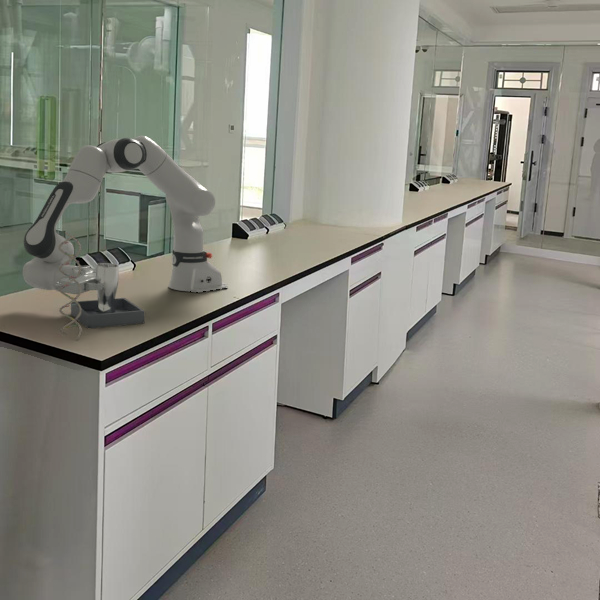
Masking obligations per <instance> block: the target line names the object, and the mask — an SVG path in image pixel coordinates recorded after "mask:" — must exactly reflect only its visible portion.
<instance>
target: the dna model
mask: <svg viewBox="0 0 600 600" xmlns="http://www.w3.org/2000/svg"><path fill="white" fill-rule="evenodd" d="M64 234H66V235H67V236H69V238H66V239H67V240H65V241H63V242H62V243H61V244H60V245H59V250H60V251H61V252H62V253H64V254H65V255H67V256H68V257H69V260H68V261H66V262H65V263H63V264H62V265H61V266H60V267H59V270H60V272H61V273H63V274H64V275H66V276H67V277H69V279H72V280H70V281H68V282H67V283H65V284H64V285H61V287H60V288H59V291H60V292H59V293H61V294H62V295H63V296H65V297H67V298H68V299H69V300H70V301H69V302H67V303H65V304H64V305H62V306H61V307H60V308H59V313H60V314H61V315H63V316H64V317H66V318H69V319H70V320H71V321H70V322H69V323H67V324H66V325H63V326H62V327H60V329H59V332H60V334H62V335H64V336H67V334H66V333H65V332H63V330H64V329H68V328H72V327H76V326H78V328H79V333H78V335H77V336H76V337H75V339H74V340H75V341H77V340H79V339H80V337H81V335H82V333H83V332H82V331H83V329H82V326H81V324H80V323H79V321H78V320H77V319H78V318H79V317H80V315H81V310H82V309H81V306H80V304H79V303H78V302H77V299H78V298H79V297H80V296H81V294H82V293H81V286H80V284H79V282H77V281H76V280H75V279H76V278H77V277H78V276H79V275H80V272H81V266H82V265H81V264H80V261H79V260H77V259H76V258H77V257H78V255H79V254H80V253H81V251H82V244H81V243H80V241H79V239H77V238H75V237H76V235H75V234H73V235H72V234H70V233H68V232H67V231H65V232H64ZM71 239H72V240H71ZM67 241H70V243H72V244H73V243H77V245H78V251H77V253H76V254H74V255H70V254H68V253H67V252H64V251H63V250H62V249H61V248H60V247H61V246H62V245H63V244H66V243H69V242H67ZM72 256H73V257H72ZM70 258H71V259H70ZM71 260H72V262H71V265H74V264H77V266H79V272H78V274H77V275H76V276H75V277H72V276H70V275H68V274H66V273H64V272H63V271H62V270H61V268H62V266H64V265H68V264H69V262H70V261H71ZM72 281H74V282H76V283H73V284H77V285H78V286H79V294H76V296H75V297H73V296H71V295H68V293H64V292H63V291H61V289H62V288H63V287H64V286H69V285H68V284H69V283H70V282H72ZM73 284H71V285H73ZM72 302H75V303H76V304H77V305H78V306H79V310H80V312H79V314H78V315H77V317H76V318H75V317H74V318H73V317H71V316H70V315H68V314H67V313H65V312H64V311H62V310H63V309H64V308H67V307H69V306H70V307H71V306H72V305H76V304H72V305H71V303H72ZM73 323H75V324H73ZM72 324H73V325H72Z"/></svg>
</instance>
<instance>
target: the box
mask: <svg viewBox="0 0 600 600" xmlns="http://www.w3.org/2000/svg"><path fill="white" fill-rule="evenodd" d="M76 301H77V300H76ZM77 302H78V303H79V304H80V306H81V309H82V310H81V315H80V317H79V318H78V319H77V320H76V321H77V322H80V323H81V325H83V326H86V327H85V328H87V329H88V328H91V329H98V328H97V327H101V328H107V327H106V326H111V327H119V325H121V326H128V325H127V324H131V325H137V324H136V323H141V324H144V323H145V310H144V309H143V308H141V307H140V306H138V305H136V304H135V303H134V302H131V300H129V299H127V298H126V297H119V298H116V297H115V309H116V313H106V314H99V313H96V307H97V299H93V300H80V301H79V300H78V301H77ZM72 304H76V303H75V302H74V301H73V302H72V303H71V304H70V314H71V316H73V317H74V319H75V318H76V317H77V315H78V314H79V312H80V310H79V306H78V305H77V304H76V305H72ZM71 305H72V306H71ZM143 322H144V323H143Z"/></svg>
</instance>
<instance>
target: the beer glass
mask: <svg viewBox="0 0 600 600" xmlns="http://www.w3.org/2000/svg"><path fill="white" fill-rule="evenodd" d="M95 269H96V277H95V282H96V284H103V285H104V289H103V290H100V291H99V290H95V291H96V298H97V299H96V300H97V307H96V313H99V314H106V313H116V309H115V299H116V297H117V292H118V287H119V279H120V278H119V276H120V275H119V274H120V273H119V271H120V270H119V265H118V264H115V263H110V262H102V263H101V262H100V263H97V264H96V268H95Z"/></svg>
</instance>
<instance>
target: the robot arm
mask: <svg viewBox="0 0 600 600" xmlns="http://www.w3.org/2000/svg"><path fill="white" fill-rule="evenodd" d="M135 169H138V170H139V171H140V172H141V173H142V174H143V176H145V177H146V178H147V179H148V180H149V181H150V182H151V183H152V184H153V185H154V186H155V187H156V188H157V189H158V190H159V191H161V192H163V193H164V194H165V201H166V204H167V205H168V207H169V210H170V216H171V221H172V224H173V226H172V227H173V249H172V254H171V255H172V256H171V264H172V269H171V275H170V280H169V283H168V288H169V289H172V290H175V291H179V292H180V291H182V292H190V291H191V292H192V293H196V292H198V293H204V292H203V291H206V292H211V291H210V290H213V291H216V290H215V289H220V290H222V289H221V288H226V287H228V284H227V283H226V282H224V281H223V278H222V277H223V275H222V273H221V271H220V269H218V268H217V267H216V266H215V265H213V264H212V263H211V262H209V261H208V259H212V258H213V254H212V252H207V251H205V250H204V243H205V242H204V240H205V239H204V237H205V231H204V228H203V226H202V225H201V222H200V218H199V217H204V216H205V217H206V216H208V215H210V214H211V213H212V212H213V211H214V209H215V207H216V199H215V196H214V194H213V192H212V191H210V190H208V189H207V188H206V187H204V186H203V185H202V184H201V183H200V182H199V181H198V180H196V179H195V178H194V177H193V176H192V175H190V174H189V173H187V172H186V171H185V170H184V169H183V168H182V167H181V166H180V165H178V164H177V162H176V161H175V160H174V159H173V158H172V157H171V156H170V155H169V154H168V153H167V152H166V151H165V150H164V149H163V148H162V147H161V146H160V145H158V144H157V143H156V142H155V141H154V140H153V139H151V138H150V137H148V136H146V135H139V136H135V138H130V137H123V138H115V139H111V140H109V141H108V140H107V142H105V141H104V142H102V143H99V144H98V145H97V146H95V145H91V144H89V145H87V144H86V145H83V146H82V147H81V148H80V149H79V150H78V151H77V153H76V154H75V156H74V158H73V159H72V161H71V164H70V166H69V168H68V169H67V170H68V171H67V173H66V175H65V177H64V178H63V180H62V181H60V182H58V184H56V185H55V186H54V188H53V189H52V191H51V192H50V194H49V196H48V198H47V200H46V201H45V203H44V204H43V207H42V208H41V210H40V212H39V214H38V216H37V217H36V219H35V221H34V222H33V223H32V225H31V226H30V227H29V228H28V230H27V231H26V232H25V234H24V237H23V247H24V250H25V252H26V253H28V254H29V255H31V256H33V258H32V259H31V260H30V261H27V262H26V263H25V264H24V265H23V268H22V277H23V280H24V281H25V283H26V284H27V285H29V286H31V287H33V288H36V289H39V290H40V289H41V290H46V291H53V290H54V291H56V292H59V293H61V292H60V291H59V288H60V287H61V285H64V284H65V283H67V282H68V281H70V280H72V279H69V277H67V276H66V275H64V274H63V273H61V272H60V270H59V267H60V266H61V265H62V264H63V263H65V262H66V261H68V260H69V257H68V256H67V255H65V254H64V253H62V252H61V251H60V250H59V245H60V244H61V243H62V242H63V241H65V240H67V239H68V238H66V237H64V236H62V235H60V234H59V233H58V232H57V229H56V228H57V225H58V224H59V222H60V220H61V218H62V216H63V214H64V212H65V210H66V209H67V207H68V206H69V205H71V204H78V205H79V204H80V205H81V204H82V205H83V204H87V203H90V202H92V201H93V200H94V199H95V198H96V196H97V195H98V193H99V190H100V188H101V185H102V182H103V179H104V176H105V175H106V174H117V173H124V172H127V171H128V172H129V171H133V170H135ZM67 242H69V243H66V244H63V245H62V246H61V247H60V248H61V249H62V250H63V251H64V252H67V253H68V254H70V255H74V256H75V250H76V249H75V247H74V243H73V242H72V243H70V242H71V240H69V241H67ZM72 257H73V256H72ZM70 259H71V258H70ZM71 263H73V260H71V261H70V262H69V264H68V265H64V266H62V268H61V270H62V271H63V272H64V273H66V274H68V275H70V276H72V277H75V276H76V275H77V274H78V272H79V266H78V265H74V264H71ZM80 266H81V272H80V275H79V276H78V277H77V278H76V279H75V280H76V281H77V282H79V284H80V286H81V294H83V293H87V292H90V291H96V290H99V291H100V290H103V289H104V285H103V284H96V282H95V277H96V268H93V267H91V266H90V265H80ZM73 283H76V282H74V281H72V282H70V283H69V284H68V285H69V286H64V287H63V288H62V289H61V291H63V292H64V293H65V294H72V295H78V294H79V286H78V285H77V284H73ZM71 284H73V285H71ZM191 292H190V293H191Z"/></svg>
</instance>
